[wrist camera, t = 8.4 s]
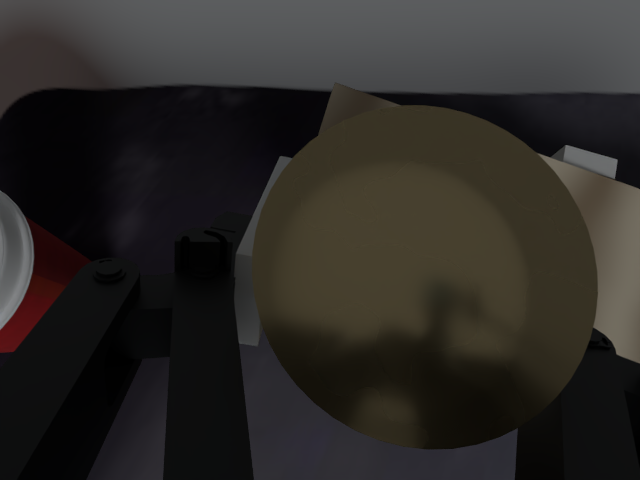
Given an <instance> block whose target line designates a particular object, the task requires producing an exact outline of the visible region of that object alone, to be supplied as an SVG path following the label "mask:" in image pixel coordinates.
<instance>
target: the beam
mask: <svg viewBox="0 0 640 480" xmlns="http://www.w3.org/2000/svg"><path fill="white" fill-rule="evenodd" d="M395 106H401V105H398V104H395V103H392V102H389V101H387V100H384V99H381V98H378V97H375V96H372V95H369V94H366V93H364V92H361V91H358V90H355V89H352V88H349V87H346V86H344V85H341V84H338V83H335V84H334V87H333V90H332V93H331V96H330V99H329V102H328V105H327V108H326V112H325V115H324V118H323V121H322V124H321V127H320V131H319V134H318V135H320V134H321V133H323V132H324V131H326V130H327V129H329V128H331V127H333V126H334V125H336V124H338V123H340V122H342V121H344V120H346V119H349V118H351V117H354V116H356V115H359V114H362V113H364V112H369V111H373V110H377V109H381V108H386V107H395ZM537 154H538V153H537ZM538 155H539V156H540V157H541V158H542V159H543V160H544V161H545V162H546V163H547V164H548V165H549V166H550V167H551V168H552V169H553V170H554V171H555V173H556V174H557V175H558V177H559V178H560V179H561V181H562V182H563V183H564V185H565V186H566V187H567V189H568V190H569V192H570V194H571V195H572V197H573V199H574V201H575V202H576V204H577V206H578V207H579V209H580V212H581V214H582V216H583V219H584V221H585V223H586V226H587V228H588V231H589V235H590V238H591V242H592V245H593V249H594V254H595V260H596V266H597V276H598V299H597V309H596V317H595V322H594V326H593V328H595V329H597V330H598V331H600V332H601V333H603V334H604V335H606V336H607V337H608V338H609V339H610V340H611V341H612V343H613V345H614V347H615V349H616V354H617V355H619V356H621V357H624V358H627V359H629V360H632V361H635V362H637V363H640V189H638V188H635V187H633V186H630V185H627V184H624V183H621V182H618V181H615V180H613V179H610V178H607V177H604V176H601V175H598V174H595V173H593V172H590V171H587V170H584V169H581V168H578V167H575V166H572V165H570V164H567V163H564V162H561V161H558V160H555V159H552V158H550V157H547V156H544V155H541V154H538Z"/></svg>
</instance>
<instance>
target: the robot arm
mask: <svg viewBox="0 0 640 480" xmlns="http://www.w3.org/2000/svg"><path fill="white" fill-rule="evenodd" d="M292 159H293V158H288V157H283V156H280V157H279V160H278V162H277V164H276V166H275V168H274V171H273V173H272V175H271V177H270V179H269V182H268V184H267V186H266V188H265V190H264V193H263V195H262V197H261V199H260V201H259V204H258V206H257V208H256V210H255V212H254V215H253V216H249V215H244V214H238V213H233V212H226V213H224V214H222V215H220V216H219V217H217V218H216V219H215V220H214V222H213V224H212V225H211V228H193V229H189V230H186V231H183V232H182V233H181V234H179V235H178V236H177V238H176V240H175V272H174V273H169V274H164V275H143V276H140V270H139V268H138V266H137V265H136V264H134V263H133V262H131V261H129V260H126V259H122V258H103V259H98V260H95V261H92V262H90V263H88V264H86V265H85V266H84V267H82V268H81V269H80V270H79V271H78V272H77V274H76V275H75V276H74V277H73V279H72V280H71V281H70V282H69V284H68V285H67V286H66V287H65V289H64V290H63V291H62V292H61V294H60V295H59V296H58V297H57V299H56V300H55V301H54V302H53V304H52V305H51V306H50V307H49V309H48V310H47V311H46V312H45V314H44V315H43V316H42V317H41V319H40V320H39V321H38V322H37V324H36V325H35V326H34V327H33V329H32V330H31V331H30V332H29V334H28V335H27V336H26V337H25V339H24V340H23V341H22V342H21V344H20V345H19V346H18V347H17V348H16V350H15V351H14V352H13V353H12V355H11V356H10V357H9V358H8V360H7V361H6V362H5V363H4V365H3V366H2V367H1V368H0V480H86V479H87V477H88V475H89V473H90V470H91V468H92V466H93V464H94V462H95V460H96V458H97V456H98V453H99V451H100V449H101V447H102V445H103V443H104V441H105V438H106V436H107V434H108V432H109V430H110V428H111V426H112V424H113V421H114V419H115V417H116V415H117V413H118V411H119V409H120V406H121V404H122V402H123V400H124V398H125V396H126V394H127V392H128V389H129V387H130V385H131V383H132V381H133V379H134V377H135V374H136V372H137V370H138V368H139V366H140V364H141V362H142V359H144V358H158V357H170V365H169V383H168V401H167V419H166V437H165V455H164V473H163V480H254V477H253V468H252V459H251V450H250V441H249V432H248V423H247V414H246V405H245V395H244V386H243V377H242V368H241V359H240V350H239V343H242V344H247V345H253V346H258V343H259V339H260V336H261V332H262V329H263V326H262V324H261V321H260V318H259V314H258V310H257V306H256V302H255V298H254V289H253V281H252V251H253V244H254V238H255V231H256V227H257V224H258V220H259V217H260V214H261V210H262V208H263V205H264V203H265V201H266V199H267V197H268V194H269V192H270V190H271V188H272V187H273V185H274V183H275V182H276V180H277V178H278V177H279V175H280V174H281V172H282V171H283V170H284V168H285V167H286V166H287V165H288V163H289V162H290V161H291V160H292ZM515 480H640V363H637V362H635V361H632V360H629V359H627V358H624V357H621V356H619V355H617V354H616V349H615V347H614V345H613V343H612V341H611V340H610V339H609V338H608V337H607V336H606V335H604V334H603V333H601V332H600V331H598V330H597V329H595V328H593V330H592V334H591V338H590V341H589V343H588V346H587V348H586V351H585V353H584V356H583V358H582V360H581V362H580V364H579V366H578V367H577V369H576V371H575V373H574V374H573V376H572V378H571V379H570V381H569V382H568V383H567V385H566V386H565V387H564V388H563V390H562V391H561V392H560V393H559V395H558V396H557V397H556V398H555V399H554V400H553V401H552V402H551V403H550V404H549V405H548V406H547V407H546V408H545V409H544V410H543V411H541V412H540V413H539V414H538V415H536V416H535V417H533V418H532V419H531V420H529V421H528V422H526V423H525V424H524V425H522V426H521V427H519V428H518V435H517V453H516V470H515Z"/></svg>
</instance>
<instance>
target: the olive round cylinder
mask: <svg viewBox="0 0 640 480" xmlns="http://www.w3.org/2000/svg"><path fill="white" fill-rule="evenodd" d="M252 281H253V289H254V298H255V302H256V306H257V310H258V314H259V318H260V321H261V324H262V326H263V329H264V331H265V334H266V336H267V339H268V341H269V344H270V345H271V347H272V349H273V351H274V353H275V354H276V356H277V358H278V360H279V361H280V363H281V365H282V366H283V368H284V369H285V370H286V372H287V373H288V374H289V376H290V377H291V378H292V380H293V381H294V382H295V383H296V385H297V386H298V387H299V388H300V389H301V390H302V391H303V392H304V393H305V394H306V395H307V396H308V397H309V398H310V399H311V400H312V401H313V402H314V403H315V404H317V405H318V406H319V407H320V408H322V409H323V410H324V411H326V412H327V413H328V414H329V415H331V416H332V417H333V418H335V419H337V420H338V421H340V422H342V423H343V424H345V425H347V426H349V427H350V428H352V429H354V430H355V431H358V432H360V433H363V434H365V435H368V436H370V437H372V438H375V439H377V440H380V441H384V442H388V443H392V444H395V445H399V446H403V447H412V448H420V449H454V448H460V447H465V446H471V445H477V444H480V443H483V442H486V441H489V440H492V439H495V438H498V437H501V436H503V435H505V434H507V433H509V432H511V431H513V430H515V429H517V428H519V427H521V426H522V425H524V424H525V423H526V422H528V421H529V420H531V419H532V418H533V417H535V416H536V415H538V414H539V413H540V412H541V411H543V410H544V409H545V408H546V407H547V406H548V405H549V404H550V403H551V402H552V401H553V400H554V399H555V398H556V397H557V396H558V395H559V393H560V392H561V391H562V390H563V388H564V387H565V386H566V385H567V383H568V382H569V381H570V379H571V378H572V376H573V374H574V373H575V371H576V369H577V367H578V366H579V364H580V362H581V360H582V358H583V356H584V353H585V351H586V348H587V346H588V343H589V341H590V338H591V334H592V330H593V326H594V322H595V317H596V309H597V299H598V276H597V266H596V260H595V254H594V249H593V245H592V242H591V238H590V235H589V231H588V228H587V226H586V223H585V221H584V219H583V216H582V214H581V212H580V209H579V207H578V206H577V204H576V202H575V201H574V199H573V197H572V195H571V194H570V192H569V190H568V189H567V187H566V186H565V185H564V183H563V182H562V181H561V179H560V178H559V177H558V175H557V174H556V173H555V171H554V170H553V169H552V168H551V167H550V166H549V165H548V164H547V163H546V162H545V161H544V160H543V159H542V158H541V157H540V156H539V155H538V154H537V153H536V152H535V151H533V150H532V149H531V148H530V147H529V146H528V145H526V144H525V143H524V142H523V141H521V140H520V139H518V138H517V137H515V136H514V135H512V134H511V133H509V132H508V131H506V130H504V129H502V128H500V127H498V126H496V125H494V124H492V123H490V122H489V121H487V120H484V119H481V118H479V117H476V116H473V115H470V114H468V113H464V112H460V111H456V110H452V109H448V108H442V107H434V106H426V105H404V106H395V107H386V108H381V109H377V110H373V111H369V112H364V113H362V114H359V115H356V116H354V117H351V118H349V119H346V120H344V121H342V122H340V123H338V124H336V125H334V126H333V127H331V128H329V129H327V130H326V131H324V132H323V133H321V134H320V135H318V136H317V137H316V138H314V139H313V140H311V141H310V142H309V143H308V144H307V145H306V146H305V147H304V148H303V149H301V150H300V151H299V152H298V153H297V154H296V155H295V156H294V157H293V159H292V160H291V161H290V162H289V163H288V165H287V166H286V167H285V168H284V170H283V171H282V172H281V174H280V175H279V177H278V178H277V180H276V182H275V183H274V185H273V187H272V188H271V190H270V192H269V194H268V197H267V199H266V201H265V203H264V205H263V208H262V210H261V214H260V217H259V220H258V224H257V227H256V231H255V238H254V244H253V251H252Z"/></svg>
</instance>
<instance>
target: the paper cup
mask: <svg viewBox="0 0 640 480" xmlns="http://www.w3.org/2000/svg"><path fill="white" fill-rule="evenodd" d="M90 262H92V261H91V260H89V259H88V258H86V257H85V256H83V255H82V254H80V253H79V252H78V251H76V250H75V249H73V248H72V247H70V246H69V245H67V244H66V243H64V242H63V241H61V240H60V239H58V238H57V237H55V236H54V235H52V234H51V233H49V232H48V231H46V230H45V229H43V228H42V227H41V226H39V225H38V224H36V223H35V222H33V221H32V220H30V219H29V218H27V217H26V216H24V215H23V213H22V212H21V210H20V209H19V207H18V206H17V205H16V204H15V203H14V202H13V201H12V200H11V199H10V198H9V197H8V196H7V195H6V194H5V193H3V192H2V191H0V353H1V352H14V351H15V350H16V348H17V347H18V346H19V345H20V344H21V342H22V341H23V340H24V339H25V337H26V336H27V335H28V334H29V332H30V331H31V330H32V329H33V327H34V326H35V325H36V324H37V322H38V321H39V320H40V319H41V317H42V316H43V315H44V314H45V312H46V311H47V310H48V309H49V307H50V306H51V305H52V304H53V302H54V301H55V300H56V299H57V297H58V296H59V295H60V294H61V292H62V291H63V290H64V289H65V287H66V286H67V285H68V284H69V282H70V281H71V280H72V279H73V277H74V276H75V275H76V274H77V272H78V271H79V270H80V269H81V268H82V267H84V266H85V265H86V264H88V263H90Z"/></svg>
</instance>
